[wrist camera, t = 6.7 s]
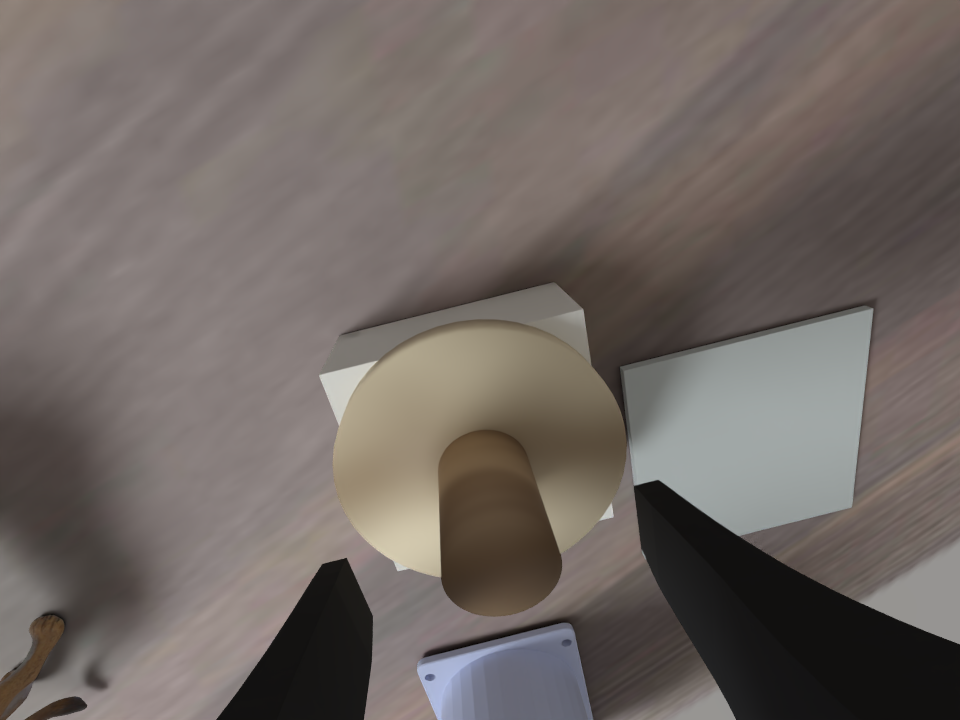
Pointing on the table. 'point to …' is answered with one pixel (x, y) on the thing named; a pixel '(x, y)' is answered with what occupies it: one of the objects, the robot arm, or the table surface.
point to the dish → (527, 306)
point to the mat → (755, 421)
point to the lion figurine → (36, 674)
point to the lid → (480, 459)
